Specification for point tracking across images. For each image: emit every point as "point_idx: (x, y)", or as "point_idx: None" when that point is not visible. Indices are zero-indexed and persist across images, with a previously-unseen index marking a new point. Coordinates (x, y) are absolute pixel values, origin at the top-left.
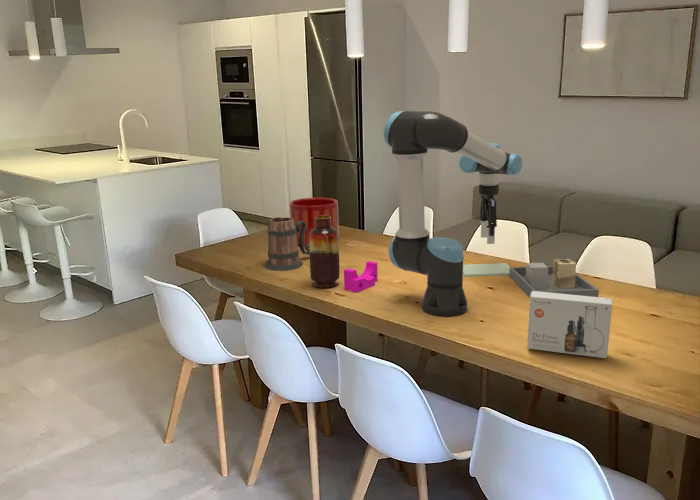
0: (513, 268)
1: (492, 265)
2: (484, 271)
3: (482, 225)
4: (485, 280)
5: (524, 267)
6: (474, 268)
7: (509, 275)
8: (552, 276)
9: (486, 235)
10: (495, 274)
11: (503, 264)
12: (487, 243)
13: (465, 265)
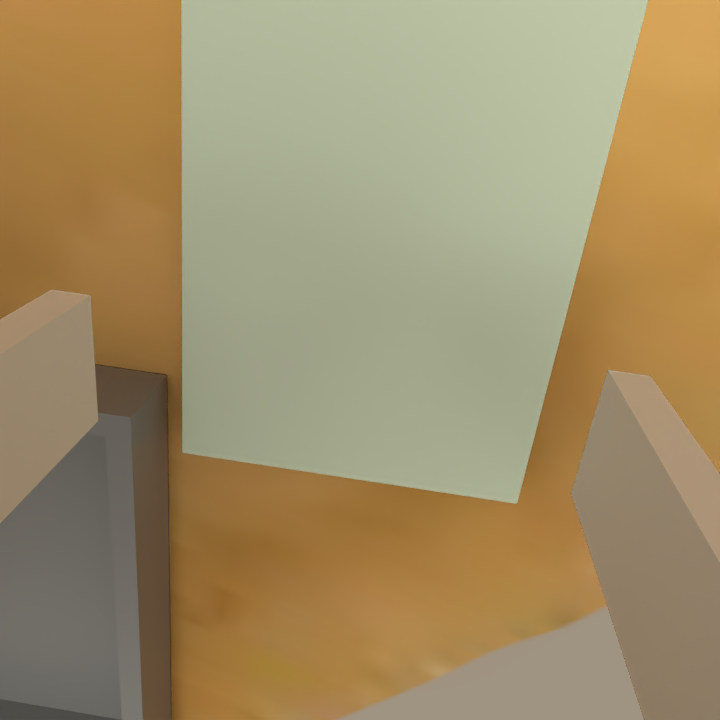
0: (108, 439)
1: (477, 350)
2: (275, 180)
3: (707, 588)
4: (53, 98)
5: (117, 534)
6: (419, 106)
7: (159, 378)
8: (90, 641)
9: (588, 494)
10: (184, 262)
11: (477, 461)
12: (49, 293)
13: (588, 34)
